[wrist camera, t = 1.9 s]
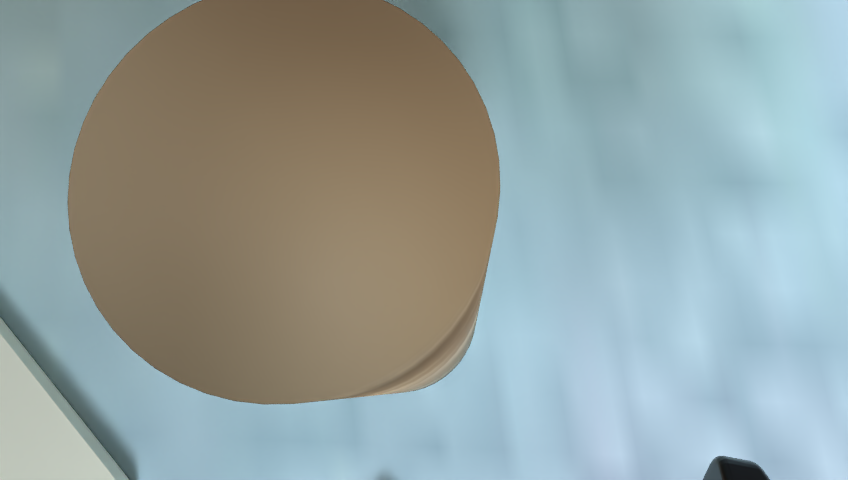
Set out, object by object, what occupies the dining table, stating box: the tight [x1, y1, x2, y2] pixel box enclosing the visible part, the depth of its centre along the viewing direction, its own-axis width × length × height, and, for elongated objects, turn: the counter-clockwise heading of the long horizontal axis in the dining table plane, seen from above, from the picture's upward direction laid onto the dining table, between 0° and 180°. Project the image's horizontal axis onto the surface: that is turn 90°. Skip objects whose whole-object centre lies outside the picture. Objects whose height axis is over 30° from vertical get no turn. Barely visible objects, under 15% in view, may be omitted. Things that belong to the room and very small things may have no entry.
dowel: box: [68, 0, 500, 404], centre depth 12 cm, size 4×4×12 cm
